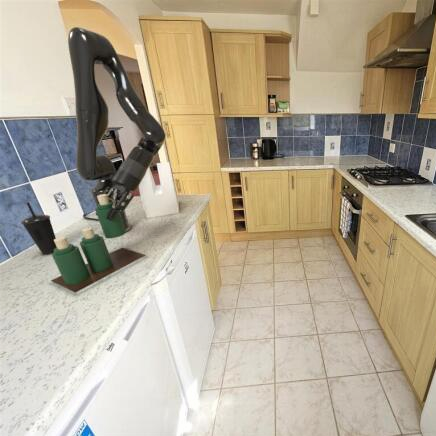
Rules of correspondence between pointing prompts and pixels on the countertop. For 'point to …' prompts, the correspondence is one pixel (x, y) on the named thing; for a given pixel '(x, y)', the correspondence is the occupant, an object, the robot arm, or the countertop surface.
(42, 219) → the drinking cup
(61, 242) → the near bottle
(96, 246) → the middle bottle
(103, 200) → the green bottle
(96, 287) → the countertop surface
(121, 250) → the serving board
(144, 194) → the white tall block
